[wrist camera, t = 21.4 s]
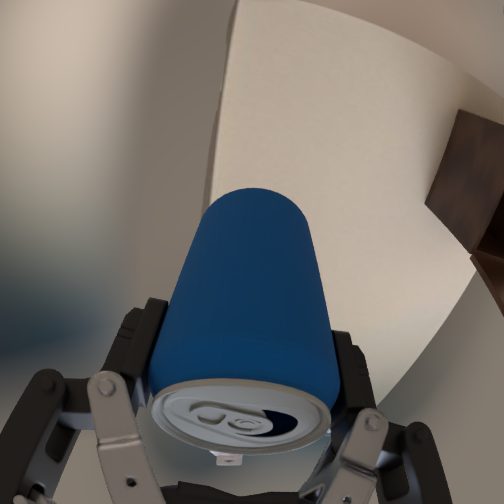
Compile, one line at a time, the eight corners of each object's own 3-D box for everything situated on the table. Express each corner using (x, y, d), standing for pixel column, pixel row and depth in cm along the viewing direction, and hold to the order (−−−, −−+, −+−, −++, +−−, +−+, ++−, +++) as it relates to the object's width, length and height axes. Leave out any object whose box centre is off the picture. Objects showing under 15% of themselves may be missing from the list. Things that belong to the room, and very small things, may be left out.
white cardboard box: (239, 416, 80) (235, 460, 68) (245, 422, 83) (242, 465, 70) (213, 418, 82) (208, 460, 70) (220, 424, 85) (216, 465, 72)
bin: (458, 109, 33) (520, 132, 21) (510, 142, 34) (565, 174, 22) (424, 203, 42) (469, 253, 30) (477, 223, 43) (521, 270, 31)
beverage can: (279, 288, 21) (283, 465, 11) (188, 255, 19) (130, 432, 9) (327, 209, 17) (389, 399, 7) (222, 165, 16) (152, 342, 6)
